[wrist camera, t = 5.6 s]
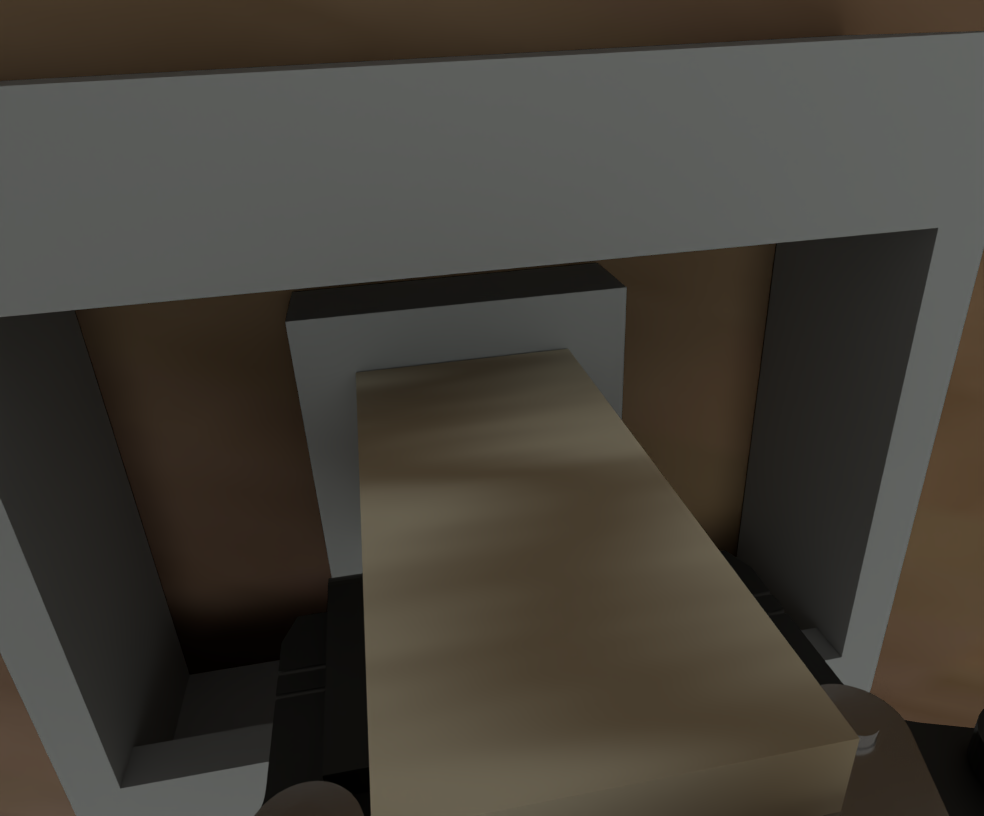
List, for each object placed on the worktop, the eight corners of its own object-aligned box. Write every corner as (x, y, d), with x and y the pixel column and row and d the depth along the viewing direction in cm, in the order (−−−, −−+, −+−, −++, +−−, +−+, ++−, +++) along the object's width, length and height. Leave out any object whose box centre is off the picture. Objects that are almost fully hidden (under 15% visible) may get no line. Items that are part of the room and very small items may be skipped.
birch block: (380, 549, 17) (419, 1091, 8) (356, 372, 15) (370, 836, 6) (568, 522, 18) (793, 997, 9) (568, 348, 16) (859, 738, 7)
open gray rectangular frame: (160, 706, 20) (109, 887, 16) (-57, 83, 13) (-257, 101, 9) (759, 606, 23) (857, 738, 19) (845, 35, 16) (1039, 29, 11)
